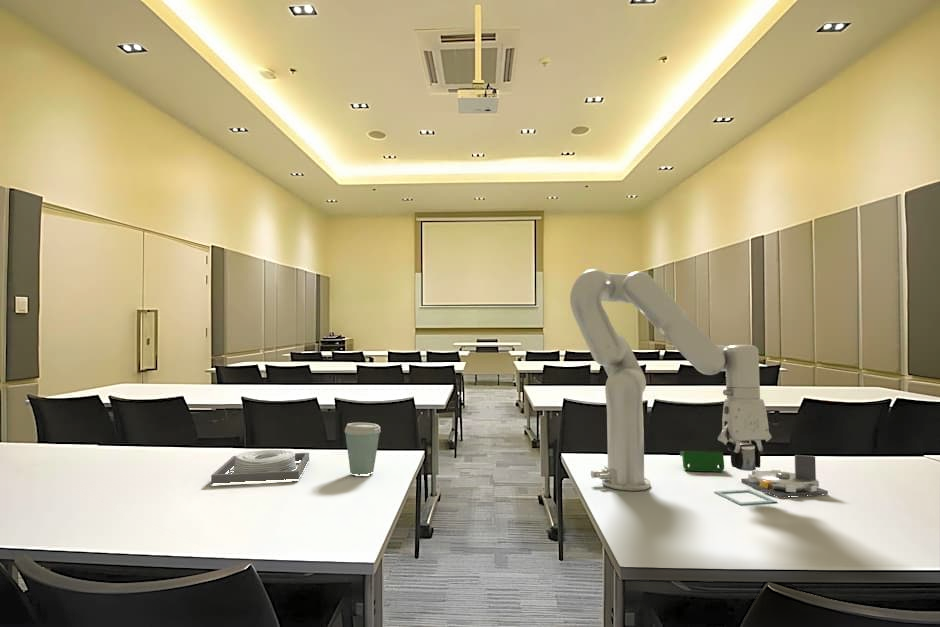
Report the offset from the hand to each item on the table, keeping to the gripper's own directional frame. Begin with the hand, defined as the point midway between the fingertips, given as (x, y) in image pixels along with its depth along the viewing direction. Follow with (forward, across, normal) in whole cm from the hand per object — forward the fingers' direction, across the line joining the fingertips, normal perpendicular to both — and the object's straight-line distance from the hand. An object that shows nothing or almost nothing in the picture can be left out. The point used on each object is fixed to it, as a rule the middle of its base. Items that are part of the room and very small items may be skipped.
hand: (745, 466), depth 134 cm
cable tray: (+6, -124, +47) cm, 133 cm away
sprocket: (+7, +15, +5) cm, 17 cm away
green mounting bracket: (+8, +5, +27) cm, 29 cm away
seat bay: (+8, 0, 0) cm, 8 cm away
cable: (+6, -124, +48) cm, 133 cm away
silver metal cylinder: (+1, 0, 0) cm, 1 cm away
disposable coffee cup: (+6, -95, +40) cm, 104 cm away
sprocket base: (+8, +15, +5) cm, 17 cm away
